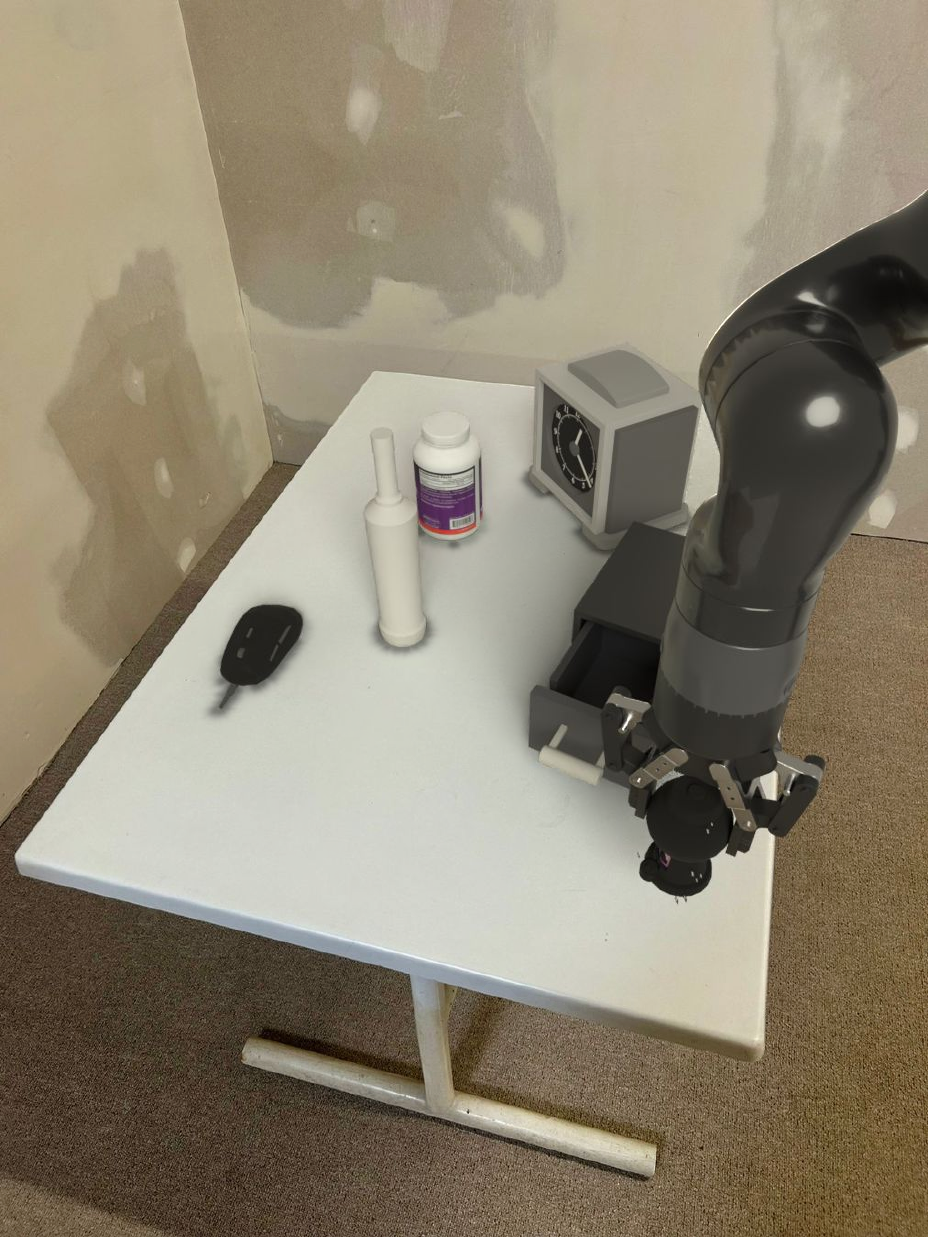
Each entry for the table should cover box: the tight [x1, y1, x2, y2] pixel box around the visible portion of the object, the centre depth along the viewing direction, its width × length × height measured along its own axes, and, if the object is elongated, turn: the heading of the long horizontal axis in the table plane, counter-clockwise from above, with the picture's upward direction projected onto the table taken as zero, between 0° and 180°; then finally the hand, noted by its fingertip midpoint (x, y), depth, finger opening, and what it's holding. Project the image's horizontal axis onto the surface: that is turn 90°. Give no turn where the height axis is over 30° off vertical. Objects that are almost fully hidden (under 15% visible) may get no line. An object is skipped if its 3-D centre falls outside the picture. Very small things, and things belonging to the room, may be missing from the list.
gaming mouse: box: [218, 603, 304, 709], centre depth 91 cm, size 6×15×4 cm, turn 161°
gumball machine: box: [636, 771, 735, 905], centre depth 61 cm, size 7×6×10 cm
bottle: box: [362, 426, 427, 648], centre depth 86 cm, size 5×5×25 cm
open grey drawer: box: [527, 620, 661, 790], centre depth 80 cm, size 19×11×8 cm, turn 151°
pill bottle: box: [412, 411, 484, 541], centre depth 103 cm, size 8×8×14 cm
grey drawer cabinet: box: [570, 521, 686, 645], centre depth 88 cm, size 16×13×10 cm
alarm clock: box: [528, 341, 703, 551], centre depth 105 cm, size 18×13×18 cm
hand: (687, 825), depth 61 cm, fingers closed on gumball machine, 6 cm apart
